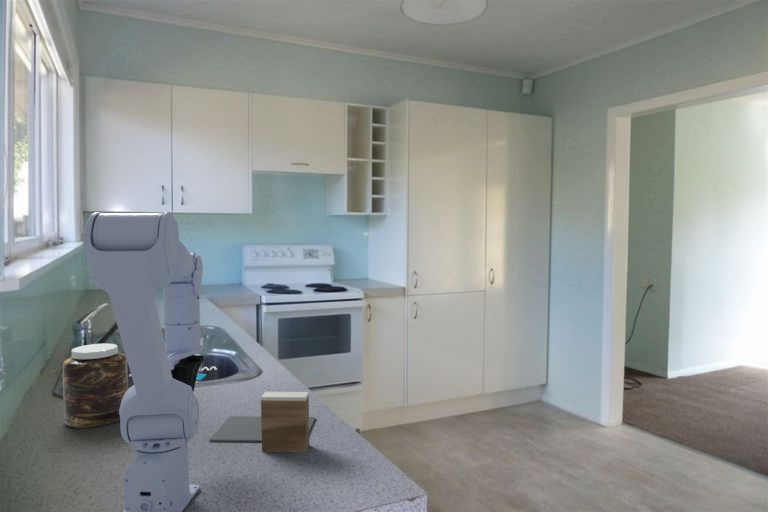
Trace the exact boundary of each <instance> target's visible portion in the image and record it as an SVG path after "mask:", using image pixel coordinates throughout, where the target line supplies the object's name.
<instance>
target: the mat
mask: <svg viewBox="0 0 768 512" xmlns="http://www.w3.org/2000/svg"><path fill="white" fill-rule="evenodd" d="M314 420H315V421H316V417H315V416H309V433H310V432H311V430H312V428H311V427H313V425H314V423H315V421H314ZM313 422H314V423H313ZM310 429H311V430H310ZM209 442H213V443H215V442H217V443H220V442H223V443H225V442H226V443H227V442H228V443H262V426H261V416H254V415H253V416H250V415H249V416H243V415H242V416H239V415H235V416H234V415H231V416H229V417H228V418H227V419H226V420H225V421H224V422H223V424H222V425H221V426H220V427H219V428H218V429H217V430H216V432H215V433H213V435H212V436H211V437H210V438H209Z"/></svg>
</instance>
